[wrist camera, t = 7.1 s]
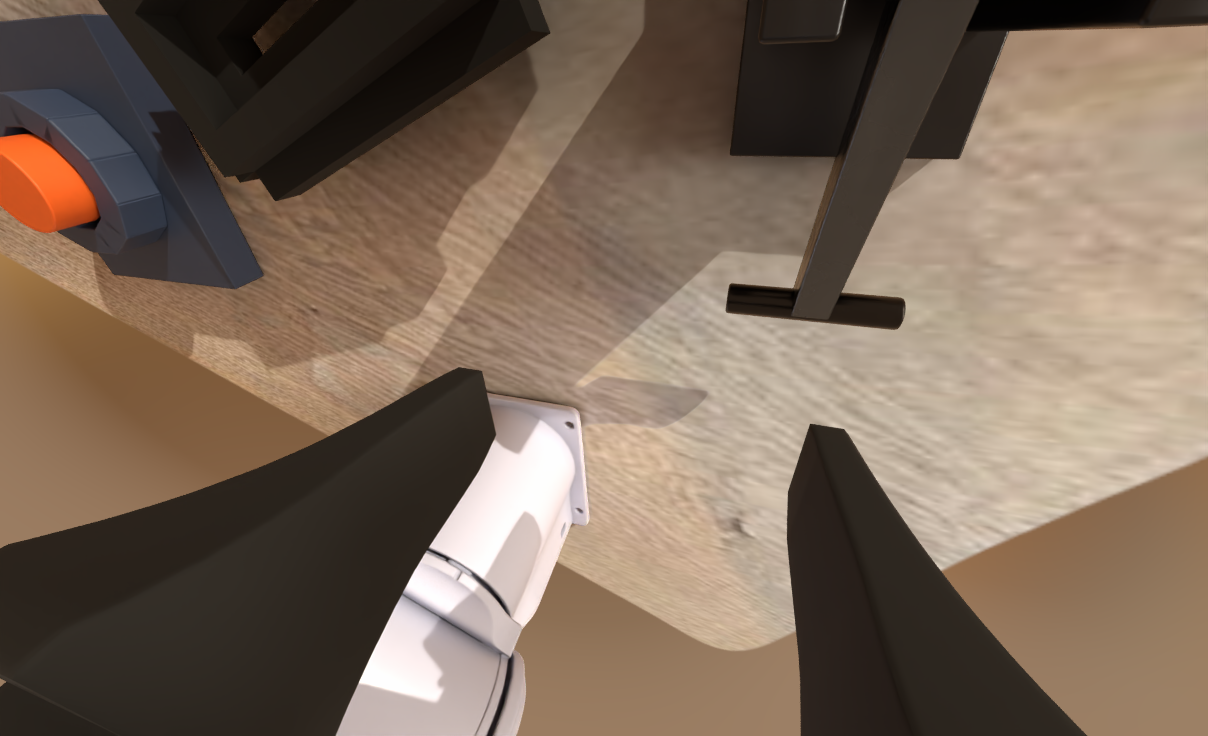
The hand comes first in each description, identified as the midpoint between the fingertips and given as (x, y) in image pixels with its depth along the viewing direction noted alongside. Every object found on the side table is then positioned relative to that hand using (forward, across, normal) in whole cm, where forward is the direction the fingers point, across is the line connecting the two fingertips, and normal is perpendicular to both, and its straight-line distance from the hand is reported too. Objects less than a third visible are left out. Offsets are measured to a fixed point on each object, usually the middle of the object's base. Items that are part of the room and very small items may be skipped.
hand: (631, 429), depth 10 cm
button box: (+9, +27, -3) cm, 29 cm away
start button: (+6, +27, -3) cm, 28 cm away
